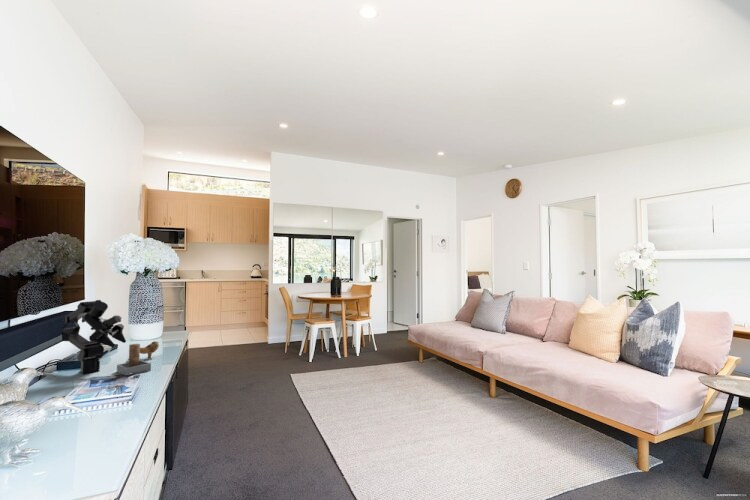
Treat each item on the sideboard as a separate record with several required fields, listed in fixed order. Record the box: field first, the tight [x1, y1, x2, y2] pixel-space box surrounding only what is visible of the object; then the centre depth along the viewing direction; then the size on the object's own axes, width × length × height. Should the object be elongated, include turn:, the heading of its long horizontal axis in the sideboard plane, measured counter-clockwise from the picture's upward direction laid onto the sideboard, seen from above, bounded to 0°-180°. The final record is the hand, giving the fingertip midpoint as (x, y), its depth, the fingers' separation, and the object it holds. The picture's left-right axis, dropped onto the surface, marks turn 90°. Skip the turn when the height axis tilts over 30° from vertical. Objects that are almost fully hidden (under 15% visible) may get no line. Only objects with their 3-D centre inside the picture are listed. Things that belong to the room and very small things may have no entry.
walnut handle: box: [128, 343, 141, 368], centre depth 178 cm, size 5×5×12 cm
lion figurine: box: [127, 341, 160, 361], centre depth 201 cm, size 15×5×9 cm, turn 132°
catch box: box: [116, 359, 152, 375], centre depth 178 cm, size 11×11×4 cm
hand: (119, 344), depth 178 cm, fingers open, 9 cm apart
